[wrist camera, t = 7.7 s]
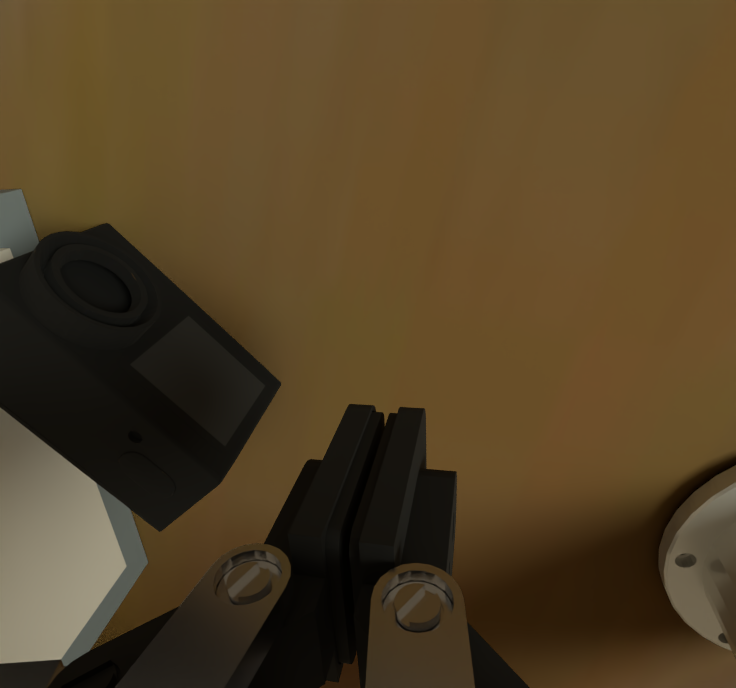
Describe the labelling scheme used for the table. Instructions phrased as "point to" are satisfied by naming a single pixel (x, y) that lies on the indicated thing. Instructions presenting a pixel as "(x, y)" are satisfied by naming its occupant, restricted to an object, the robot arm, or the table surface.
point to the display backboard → (54, 527)
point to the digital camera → (124, 372)
